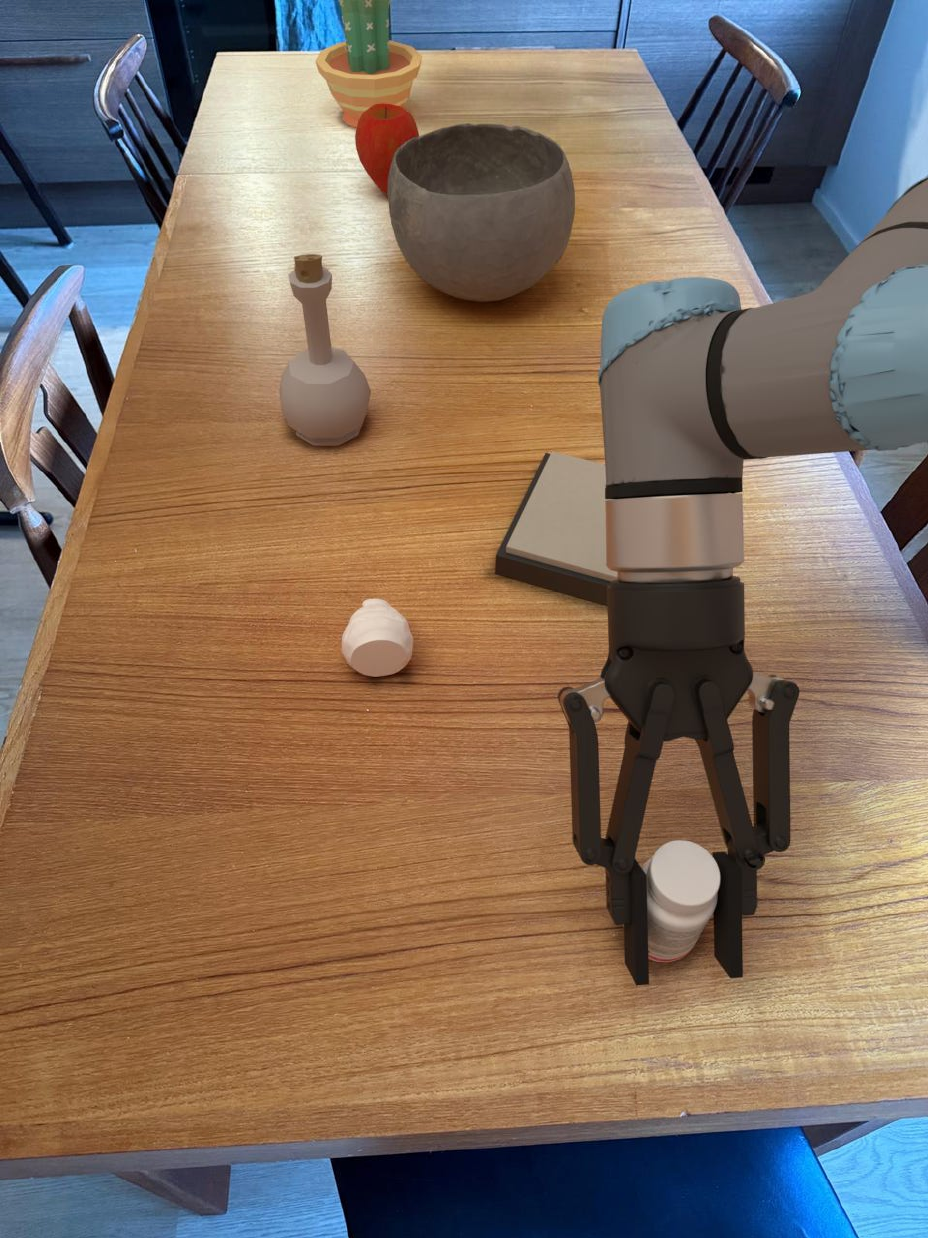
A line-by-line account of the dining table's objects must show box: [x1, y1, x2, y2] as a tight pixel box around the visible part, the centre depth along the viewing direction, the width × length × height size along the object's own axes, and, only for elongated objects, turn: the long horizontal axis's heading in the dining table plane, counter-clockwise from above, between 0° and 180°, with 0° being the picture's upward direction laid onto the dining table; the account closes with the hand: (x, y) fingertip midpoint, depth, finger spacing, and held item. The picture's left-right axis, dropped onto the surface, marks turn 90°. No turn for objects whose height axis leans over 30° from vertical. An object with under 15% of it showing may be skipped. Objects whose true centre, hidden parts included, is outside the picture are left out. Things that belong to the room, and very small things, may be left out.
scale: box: [494, 451, 618, 606], centre depth 78 cm, size 16×14×3 cm
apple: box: [354, 103, 420, 195], centre depth 116 cm, size 9×8×11 cm
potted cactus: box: [315, 0, 423, 128], centre depth 126 cm, size 15×15×25 cm
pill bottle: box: [622, 839, 720, 963], centre depth 54 cm, size 5×5×8 cm
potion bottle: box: [279, 253, 372, 447], centre depth 82 cm, size 9×9×18 cm
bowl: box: [386, 122, 576, 303], centre depth 100 cm, size 20×20×15 cm
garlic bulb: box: [341, 597, 414, 678], centre depth 69 cm, size 6×6×6 cm
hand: (682, 969), depth 53 cm, fingers closed on pill bottle, 5 cm apart
